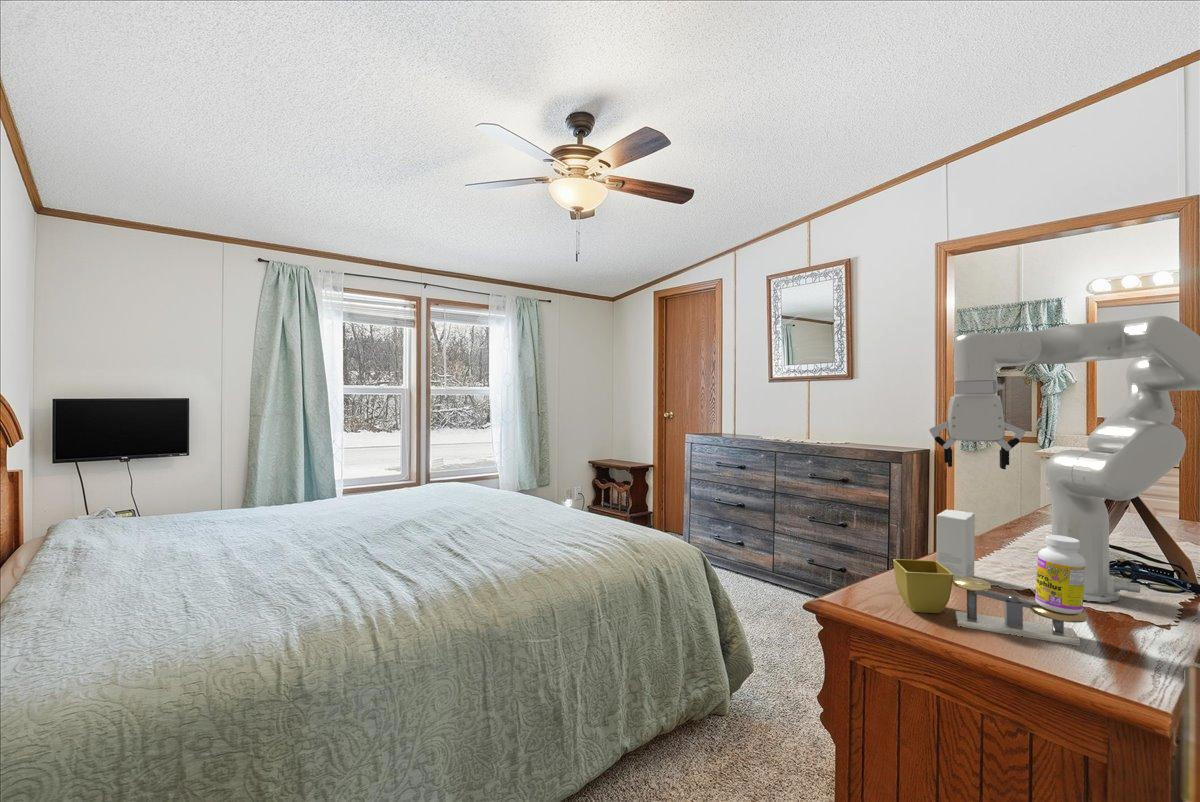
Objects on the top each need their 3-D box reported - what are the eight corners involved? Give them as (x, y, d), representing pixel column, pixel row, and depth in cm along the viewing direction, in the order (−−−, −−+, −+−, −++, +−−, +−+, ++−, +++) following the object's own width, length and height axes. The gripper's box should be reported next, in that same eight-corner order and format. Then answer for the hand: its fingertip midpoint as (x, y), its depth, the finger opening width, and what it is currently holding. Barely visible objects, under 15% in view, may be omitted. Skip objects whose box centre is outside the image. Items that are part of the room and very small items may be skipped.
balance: (1080, 633, 100) (1080, 589, 100) (1093, 651, 93) (1093, 604, 93) (952, 613, 110) (951, 573, 110) (955, 628, 103) (954, 585, 103)
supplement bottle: (1025, 600, 102) (1029, 532, 102) (1058, 600, 103) (1062, 533, 102) (1058, 616, 95) (1062, 543, 95) (1093, 615, 96) (1097, 543, 95)
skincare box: (946, 570, 137) (945, 508, 137) (977, 576, 132) (976, 512, 132) (935, 578, 131) (934, 514, 131) (967, 584, 126) (966, 518, 126)
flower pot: (955, 619, 108) (954, 573, 108) (906, 616, 110) (906, 571, 109) (936, 602, 116) (936, 560, 116) (892, 599, 118) (892, 558, 118)
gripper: (1021, 389, 118) (1021, 467, 119) (928, 390, 127) (929, 463, 127) (1027, 388, 112) (1028, 471, 112) (929, 390, 120) (930, 467, 120)
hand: (975, 467), depth 119 cm, fingers open, 9 cm apart
